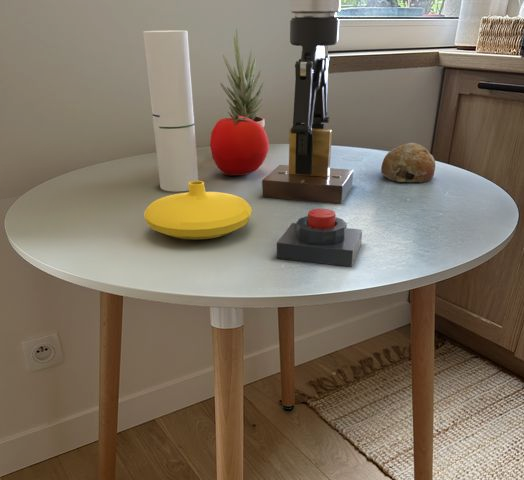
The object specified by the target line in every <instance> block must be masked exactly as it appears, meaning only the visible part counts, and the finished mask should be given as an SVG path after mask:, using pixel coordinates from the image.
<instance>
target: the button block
mask: <svg viewBox="0 0 524 480" xmlns="http://www.w3.org/2000/svg"><path fill="white" fill-rule="evenodd" d="M347 225H348V223H347V222H346V221H345V220H344V219H343V218H341V217H338V216H335V227H332V228H325V229H321V228H313V227H310V226H308V215H306V216H304V217H301V218H298V220H297V221H296V222H291V224H290V226H289V227H288V228H287V229H286V230H285V231H284V233H282V235H281V236H280V238H279V239H278V240H277V241H276V259H278V260H279V259H280V260H288V261H299V262H307V263H316V264H324V265H333V266H341V267H353V265H354V262H355V259H356V258H357V255H358V252H359V250H360V249H361V245H362V238H363V229H360V228H349V227H348V226H347Z"/></svg>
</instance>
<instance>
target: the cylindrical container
mask: <svg viewBox="0 0 524 480" xmlns="http://www.w3.org/2000/svg"><path fill="white" fill-rule="evenodd" d="M188 32H189V31H188V30H181V29H180V30H179V29H177V30H176V29H174V30H172V29H171V30H168V29H167V30H165V29H164V30H145V31H142V34H143V44H144V52H145V60H146V61H145V62H146V71H147V78H148V79H147V80H148V87H149V88H148V89H149V96H150V105H151V107H150V108H151V114H152V124H153V133H154V142H155V150H156V161H157V170H158V178H159V186H160V189H161V190H163V191H167V192H176V193H177V192H189V182H192V181H199V168H198V155H197V154H198V153H197V142H196V129H195V127H196V125H195V114H194V99H193V88H192V87H193V86H192V76H191V75H192V74H191V61H190V46H189V33H188Z"/></svg>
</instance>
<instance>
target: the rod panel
mask: <svg viewBox="0 0 524 480" xmlns="http://www.w3.org/2000/svg"><path fill="white" fill-rule="evenodd" d="M353 181H354V169H349V168H348V169H347V168H334V167H333V168H332V167H330V174H329V176H328V177H321V176H307V175H293V174H289V164H279V165H278V166H277V167H275V168H274V169H273V170H272V171H271V172H269V173H268V175H266V176H265V177H264V178H263V179H262V182H261V190H262V192H261V193H262V198H270V199H281V200H292V201H305V202H316V203H329V204H339V205H342V203H343V202H344V200H345V199H346V197H347V195H348V194H349V192H350V191H351V189H352V187H353Z"/></svg>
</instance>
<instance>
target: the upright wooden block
mask: <svg viewBox="0 0 524 480" xmlns="http://www.w3.org/2000/svg"><path fill="white" fill-rule="evenodd" d="M291 128H292V126H291V127H290V129H289V135H288V138H289V139H288V140H289V141H288V165H289V174H293V175H304V174H295V161H296V134H295V133H291ZM311 133H313V154H312V174H311V175H307V176H321V177H328V176H329V174H330V168H331V157H332V156H331V153H332V136H333V129H329V128H324V129H312V132H311Z"/></svg>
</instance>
